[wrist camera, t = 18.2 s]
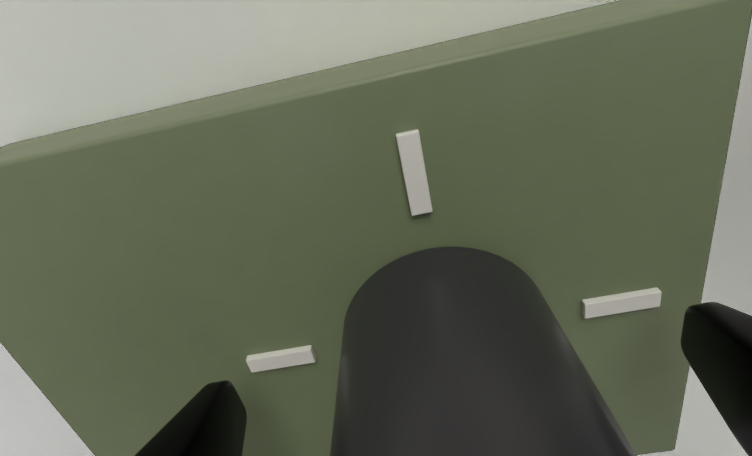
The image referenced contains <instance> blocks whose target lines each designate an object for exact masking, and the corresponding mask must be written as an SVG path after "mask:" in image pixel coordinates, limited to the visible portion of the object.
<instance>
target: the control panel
mask: <svg viewBox="0 0 752 456" xmlns="http://www.w3.org/2000/svg"><path fill="white" fill-rule="evenodd" d="M751 16H752V0H620V1H615V2H611V3H607V4H603V5H598V6H594V7H590V8H585V9H581V10H577V11H573V12H568V13H564V14H560V15H556V16H551V17H547V18H543V19H539V20H534V21H530V22H526V23H522V24H517V25H513V26H509V27H505V28H500V29H496V30H492V31H488V32H483V33H479V34H475V35H470V36H466V37H462V38H458V39H453V40H449V41H445V42H441V43H436V44H432V45H428V46H424V47H419V48H415V49H411V50H407V51H402V52H398V53H394V54H390V55H385V56H381V57H377V58H372V59H368V60H364V61H360V62H355V63H351V64H347V65H343V66H338V67H334V68H330V69H326V70H321V71H317V72H313V73H309V74H304V75H300V76H296V77H292V78H287V79H283V80H279V81H275V82H270V83H266V84H262V85H257V86H253V87H249V88H245V89H240V90H236V91H232V92H228V93H223V94H219V95H215V96H211V97H206V98H202V99H198V100H194V101H189V102H185V103H181V104H177V105H172V106H168V107H164V108H159V109H155V110H151V111H147V112H142V113H138V114H134V115H130V116H125V117H121V118H117V119H113V120H108V121H104V122H100V123H96V124H91V125H87V126H83V127H79V128H74V129H70V130H66V131H61V132H57V133H53V134H49V135H44V136H40V137H36V138H32V139H27V140H23V141H19V142H15V143H11V144H8V145H5V146H2V147H0V342H1V344H2V345H3V346H4V347H5V348H6V350H7V351H8V352H9V353H10V354H11V356H12V357H13V358H14V359H15V360H16V362H17V363H18V364H19V365H20V366H21V368H22V369H23V370H24V371H25V372H26V374H27V375H28V376H29V377H30V378H31V379H32V381H33V382H34V383H35V384H36V385H37V387H38V388H39V389H40V390H41V391H42V393H43V394H44V395H45V396H46V397H47V399H48V400H49V401H50V402H51V403H52V405H53V406H54V407H55V408H56V409H57V411H58V412H59V413H60V414H61V415H62V417H63V418H64V419H65V420H66V421H67V423H68V424H69V425H70V426H71V427H72V429H73V430H74V431H75V432H76V433H77V435H78V436H79V437H80V438H81V439H82V441H83V442H84V443H85V444H86V445H87V447H88V448H89V449H90V450H91V451H92V453H93V454H94V455H95V456H134V455H135V454H136V453H137V452H138V451H139V450H141V449H142V448H143V447H144V446H145V445H146V444H147V443H148V442H149V441H150V440H151V439H152V438H153V437H154V436H155V435H156V434H157V433H158V432H159V431H160V430H161V429H162V428H163V427H164V426H165V425H166V424H167V423H168V422H169V421H170V420H171V419H172V418H173V417H174V416H175V415H176V414H177V413H178V412H179V411H180V410H181V409H182V408H183V407H184V406H185V405H186V404H187V403H188V402H189V401H190V400H191V399H192V398H193V397H194V396H195V395H196V394H197V393H198V392H199V391H200V390H201V389H202V388H203V387H204V386H205V385H207V384H208V383H211V382H217V381H223V380H228V381H230V382H231V383H232V384H233V385H234V387H235V389H236V391H237V393H238V395H239V397H240V399H241V401H242V403H243V404H244V406H245V409H246V413H247V423H246V430H245V438H244V445H243V453H242V456H330V451H331V441H332V432H333V423H334V413H335V404H336V394H337V385H338V376H339V366H340V357H341V347H342V338H343V329H344V320H345V316H346V313H347V309H348V307H349V305H350V303H351V300H352V299H353V297H354V296H355V294H356V293H357V291H358V290H359V288H360V287H361V286H362V285H363V284H364V283H365V282H366V280H367V279H368V278H370V277H371V276H372V275H373V274H374V273H375V272H376V271H378V270H379V269H381V268H382V267H384V266H385V265H387V264H388V263H390V262H392V261H394V260H396V259H398V258H400V257H402V256H405V255H408V254H410V253H413V252H416V251H420V250H425V249H429V248H437V247H456V246H458V247H468V248H474V249H479V250H483V251H487V252H490V253H493V254H495V255H498V256H501V257H503V258H504V259H506V260H508V261H510V262H512V263H514V264H515V265H516V266H518V267H519V268H521V269H522V270H523V271H524V272H525V273H526V274H527V275H528V276H529V277H530V278H531V279H532V280H533V281H534V283H535V284H536V285H537V287H538V288H539V290H540V292H541V293H542V295H543V297H544V299H545V300H546V302H547V304H548V305H549V307H550V309H551V310H552V312H553V314H554V315H555V317H556V319H557V321H558V322H559V324H560V326H561V327H562V329H563V331H564V332H565V334H566V336H567V338H568V339H569V341H570V343H571V344H572V346H573V348H574V349H575V351H576V353H577V354H578V356H579V358H580V360H581V361H582V363H583V365H584V366H585V368H586V370H587V371H588V373H589V375H590V377H591V378H592V380H593V382H594V383H595V385H596V387H597V388H598V390H599V392H600V394H601V395H602V397H603V399H604V400H605V402H606V404H607V405H608V407H609V409H610V410H611V412H612V414H613V416H614V417H615V419H616V421H617V422H618V424H619V426H620V427H621V429H622V431H623V433H624V434H625V436H626V438H627V439H628V441H629V443H630V444H631V446H632V448H633V449H634V451H635V453H636V455H640V454H648V453H656V452H663V451H671V450H674V449H675V445H676V439H677V434H678V428H679V422H680V417H681V411H682V405H683V400H684V394H685V388H686V383H687V377H688V371H689V366H690V364H689V362H688V361H687V359H686V357H685V356H684V354H683V351H682V348H681V343H680V341H681V333H682V327H683V321H684V315H685V311H686V309H687V308H688V307H689V306H691V305H696V304H701V298H702V292H703V287H704V281H705V276H706V270H707V264H708V259H709V253H710V247H711V242H712V236H713V230H714V225H715V219H716V213H717V208H718V202H719V196H720V191H721V185H722V180H723V174H724V168H725V163H726V157H727V151H728V146H729V140H730V134H731V129H732V123H733V117H734V112H735V106H736V101H737V95H738V89H739V84H740V78H741V72H742V67H743V61H744V55H745V50H746V44H747V38H748V33H749V27H750V21H751Z"/></svg>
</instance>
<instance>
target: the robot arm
mask: <svg viewBox="0 0 752 456" xmlns="http://www.w3.org/2000/svg"><path fill="white" fill-rule="evenodd" d="M680 343H681V348H682V351H683V354H684V356H685V357H686V359H687V361H688V362H689V364H690V365H691V367H692V369H693V370H694V372H695V374H696V375H697V377H698V378H699V380H700V382H701V383H702V385H703V386H704V388H705V390H706V391H707V393H708V395H709V396H710V398H711V399H712V401H713V403H714V404H715V406H716V408H717V409H718V411H719V412H720V414H721V416H722V417H723V419H724V420H725V422H726V424H727V425H728V427H729V428H730V430H731V431H732V433H733V434H734V436H735V438H736V439H737V441H738V442H739V443H740V445H741V446H742V447H743V449H744V450H745V452H746V453H747V454H748V456H752V316H750V315H748V314H745V313H743V312H740V311H738V310H735V309H733V308H730V307H728V306H725V305H722V304H720V303H716V302H709V303H702V304H696V305H691V306H689V307H688V308H687V309H686V311H685V315H684V321H683V327H682V333H681V341H680ZM246 423H247V413H246V409H245V406H244V404H243V403H242V401H241V399H240V397H239V395H238V393H237V391H236V389H235V387H234V385H233V384H232V383H231V382H230V381H228V380H223V381H217V382H211V383H208V384H207V385H205V386H204V387H203V388H202V389H201V390H200V391H199V392H198V393H197V394H196V395H195V396H194V397H193V398H192V399H191V400H190V401H189V402H188V403H187V404H186V405H185V406H184V407H183V408H182V409H181V410H180V411H179V412H178V413H177V414H176V415H175V416H174V417H173V418H172V419H171V420H170V421H169V422H168V423H167V424H166V425H165V426H164V427H163V428H162V429H161V430H160V431H159V432H158V433H157V434H156V435H155V436H154V437H153V438H152V439H151V440H150V441H149V442H148V443H147V444H146V445H145V446H144V447H143V448H142V449H141V450H139V451H138V452H137V453H136V454H135V455H134V456H242V453H243V445H244V438H245V430H246Z"/></svg>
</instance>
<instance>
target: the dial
mask: <svg viewBox="0 0 752 456" xmlns="http://www.w3.org/2000/svg"><path fill="white" fill-rule="evenodd" d="M330 456H637V455H636V453H635V451H634V449H633V448H632V446H631V444H630V443H629V441H628V439H627V438H626V436H625V434H624V433H623V431H622V429H621V427H620V426H619V424H618V422H617V421H616V419H615V417H614V416H613V414H612V412H611V410H610V409H609V407H608V405H607V404H606V402H605V400H604V399H603V397H602V395H601V394H600V392H599V390H598V388H597V387H596V385H595V383H594V382H593V380H592V378H591V377H590V375H589V373H588V371H587V370H586V368H585V366H584V365H583V363H582V361H581V360H580V358H579V356H578V354H577V353H576V351H575V349H574V348H573V346H572V344H571V343H570V341H569V339H568V338H567V336H566V334H565V332H564V331H563V329H562V327H561V326H560V324H559V322H558V321H557V319H556V317H555V315H554V314H553V312H552V310H551V309H550V307H549V305H548V304H547V302H546V300H545V299H544V297H543V295H542V293H541V292H540V290H539V288H538V287H537V285H536V284H535V283H534V281H533V280H532V279H531V278H530V277H529V276H528V275H527V274H526V273H525V272H524V271H523V270H522V269H521V268H519V267H518V266H516V265H515V264H514V263H512V262H510V261H508V260H506V259H504V258H503V257H501V256H498V255H495V254H493V253H490V252H487V251H483V250H479V249H474V248H468V247H458V246H456V247H437V248H429V249H425V250H420V251H416V252H413V253H410V254H408V255H405V256H402V257H400V258H398V259H396V260H394V261H392V262H390V263H388V264H387V265H385V266H384V267H382V268H381V269H379V270H378V271H376V272H375V273H374V274H373V275H372V276H371V277H370V278H368V279H367V280H366V282H365V283H364V284H363V285H362V286H361V287H360V288H359V290H358V291H357V293H356V294H355V296H354V297H353V299H352V300H351V303H350V305H349V307H348V309H347V313H346V316H345V320H344V329H343V338H342V347H341V357H340V366H339V376H338V385H337V394H336V404H335V413H334V423H333V432H332V441H331V451H330Z"/></svg>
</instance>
